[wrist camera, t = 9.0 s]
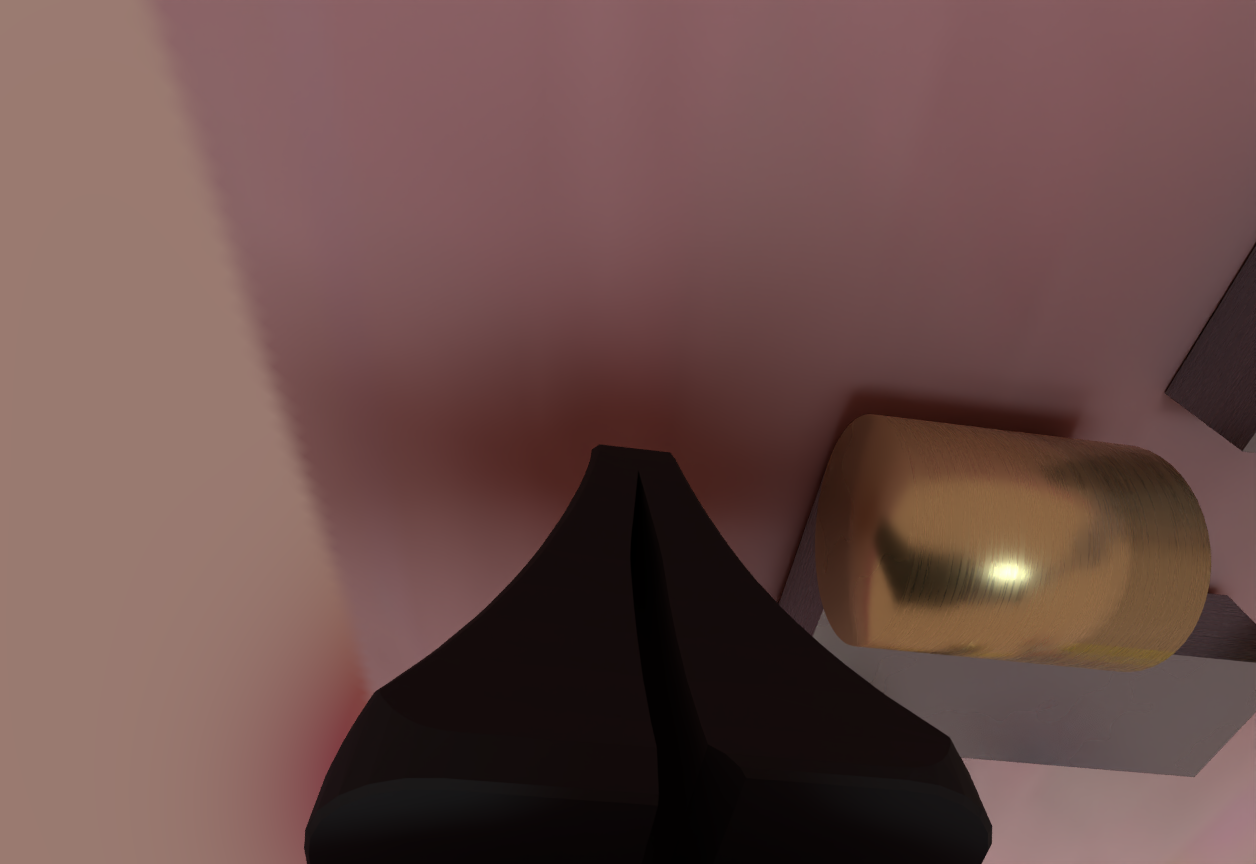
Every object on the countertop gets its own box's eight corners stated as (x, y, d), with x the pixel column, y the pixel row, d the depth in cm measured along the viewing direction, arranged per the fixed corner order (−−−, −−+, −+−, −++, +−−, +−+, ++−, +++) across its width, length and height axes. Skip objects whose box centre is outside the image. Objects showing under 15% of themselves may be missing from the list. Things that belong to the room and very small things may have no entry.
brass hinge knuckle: (1355, 436, 14) (1591, 581, 10) (1140, 702, 18) (1260, 868, 15) (859, 373, 13) (941, 509, 10) (756, 667, 17) (788, 833, 14)
